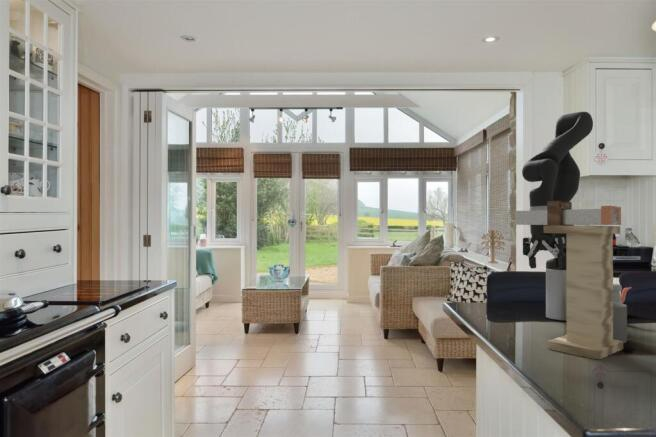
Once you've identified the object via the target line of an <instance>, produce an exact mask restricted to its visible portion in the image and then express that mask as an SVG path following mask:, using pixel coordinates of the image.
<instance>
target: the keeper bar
mask: <svg viewBox="0 0 656 437" xmlns="http://www.w3.org/2000/svg"><path fill="white" fill-rule="evenodd" d="M515 225H518V226H519V225H520V226H530V225H547V210H533V211H530V210H515ZM561 225H574V226H621V225H622V207H621V206H616V205H601V206H600V208H586V209H583V208H577V209H576V208H575V209H572V210H561Z"/></svg>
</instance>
